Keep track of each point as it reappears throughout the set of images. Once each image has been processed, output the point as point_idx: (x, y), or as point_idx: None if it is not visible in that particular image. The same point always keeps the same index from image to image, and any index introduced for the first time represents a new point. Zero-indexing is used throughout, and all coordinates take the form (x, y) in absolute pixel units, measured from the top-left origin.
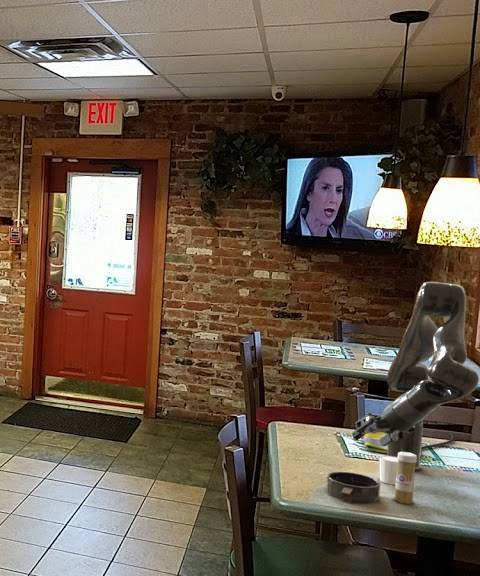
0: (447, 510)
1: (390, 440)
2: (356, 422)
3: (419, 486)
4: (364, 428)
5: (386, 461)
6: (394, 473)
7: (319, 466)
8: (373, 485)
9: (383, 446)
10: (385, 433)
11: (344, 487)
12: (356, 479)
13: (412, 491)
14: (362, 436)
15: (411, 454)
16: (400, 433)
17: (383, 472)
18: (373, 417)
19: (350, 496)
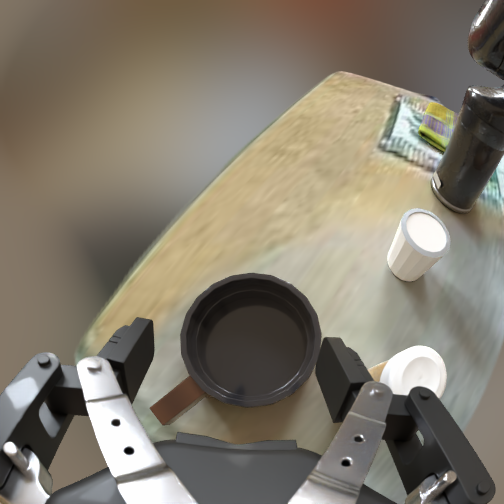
0: (421, 441)
1: (333, 420)
2: (27, 369)
3: (448, 290)
4: (56, 439)
5: (407, 243)
6: (413, 269)
7: (301, 179)
8: (312, 345)
9: (442, 135)
10: (450, 113)
11: (185, 380)
12: (293, 299)
13: None
14: (137, 389)
15: (432, 383)
16: (410, 422)
17: (395, 254)
18: (5, 500)
19: (177, 417)
